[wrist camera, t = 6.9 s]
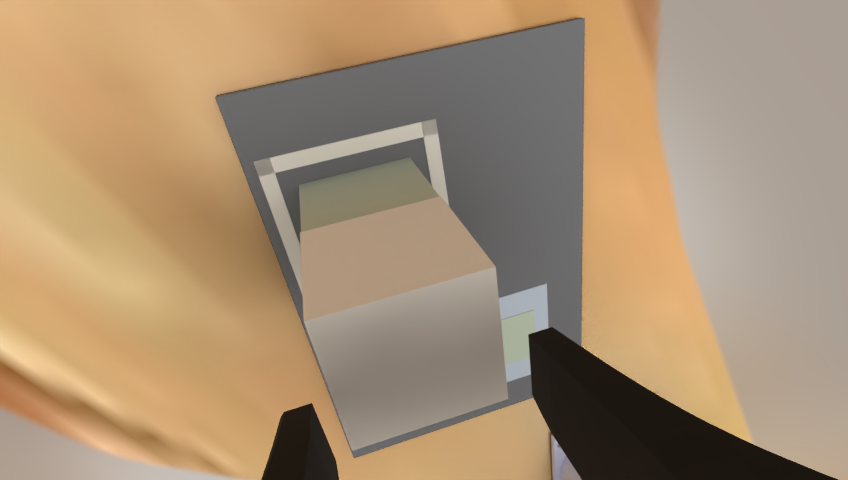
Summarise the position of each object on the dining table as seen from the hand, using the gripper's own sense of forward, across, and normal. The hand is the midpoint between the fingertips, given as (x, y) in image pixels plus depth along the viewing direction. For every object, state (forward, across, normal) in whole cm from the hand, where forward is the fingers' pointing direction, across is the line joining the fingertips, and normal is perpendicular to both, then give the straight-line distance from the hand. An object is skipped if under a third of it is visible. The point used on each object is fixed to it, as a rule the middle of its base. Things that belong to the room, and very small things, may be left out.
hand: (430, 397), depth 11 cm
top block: (+6, 0, 0) cm, 6 cm away
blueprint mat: (+10, -3, +4) cm, 12 cm away
